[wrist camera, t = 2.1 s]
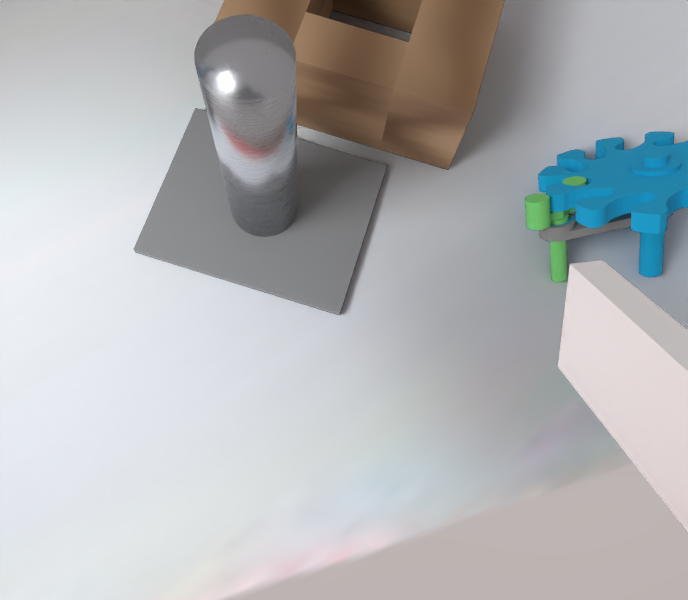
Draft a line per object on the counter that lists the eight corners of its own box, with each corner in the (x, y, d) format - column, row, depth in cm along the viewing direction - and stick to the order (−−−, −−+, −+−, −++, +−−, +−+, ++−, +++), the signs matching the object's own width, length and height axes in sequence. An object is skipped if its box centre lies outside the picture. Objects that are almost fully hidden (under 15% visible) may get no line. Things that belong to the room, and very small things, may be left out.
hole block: (222, 101, 33) (209, 34, 28) (284, -45, 36) (282, -128, 31) (447, 169, 33) (473, 113, 28) (491, 16, 36) (520, -59, 31)
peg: (221, 225, 31) (179, 82, 20) (244, 168, 32) (215, 3, 21) (285, 245, 31) (277, 111, 20) (306, 187, 32) (309, 30, 21)
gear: (702, 105, 33) (855, 162, 24) (694, 213, 36) (829, 299, 27) (488, 152, 33) (564, 225, 24) (497, 255, 36) (568, 354, 27)
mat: (135, 252, 30) (133, 249, 30) (196, 112, 33) (195, 108, 32) (339, 315, 30) (340, 312, 30) (385, 169, 33) (386, 165, 32)
